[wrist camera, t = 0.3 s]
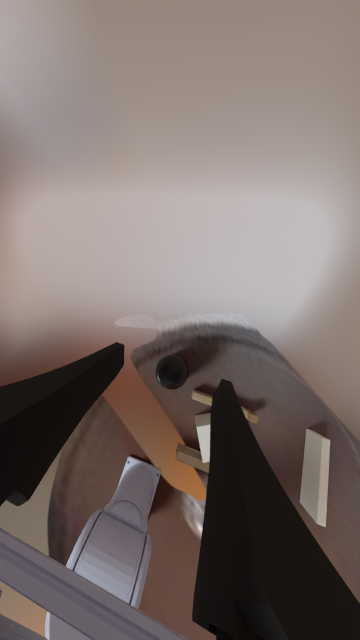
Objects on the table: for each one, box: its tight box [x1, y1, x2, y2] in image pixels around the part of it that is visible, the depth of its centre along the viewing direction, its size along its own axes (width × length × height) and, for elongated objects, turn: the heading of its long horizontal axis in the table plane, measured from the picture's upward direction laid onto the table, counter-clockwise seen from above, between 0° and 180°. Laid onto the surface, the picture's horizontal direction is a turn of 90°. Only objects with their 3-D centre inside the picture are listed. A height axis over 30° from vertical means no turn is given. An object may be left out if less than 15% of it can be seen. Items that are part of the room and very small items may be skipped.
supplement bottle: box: [156, 355, 189, 389], centre depth 31 cm, size 7×7×12 cm
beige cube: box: [195, 413, 210, 463], centre depth 31 cm, size 6×6×6 cm
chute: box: [176, 389, 258, 473], centre depth 31 cm, size 14×14×4 cm
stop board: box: [300, 428, 330, 527], centre depth 29 cm, size 14×2×4 cm, turn 162°
